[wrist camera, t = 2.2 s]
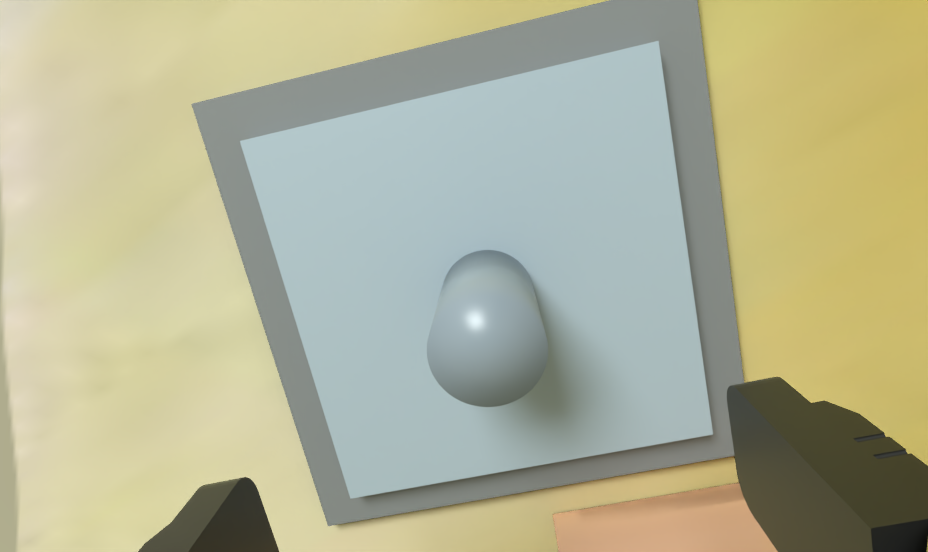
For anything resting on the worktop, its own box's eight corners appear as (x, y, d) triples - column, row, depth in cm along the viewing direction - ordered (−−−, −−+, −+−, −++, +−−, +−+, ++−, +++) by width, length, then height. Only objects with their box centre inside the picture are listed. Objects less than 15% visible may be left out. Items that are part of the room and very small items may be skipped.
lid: (249, 139, 20) (152, 148, 14) (651, 44, 18) (723, 10, 13) (355, 485, 23) (311, 606, 17) (705, 422, 21) (781, 530, 16)
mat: (198, 104, 20) (191, 104, 19) (689, -18, 18) (694, -21, 18) (331, 517, 24) (328, 525, 23) (746, 445, 22) (752, 452, 22)
